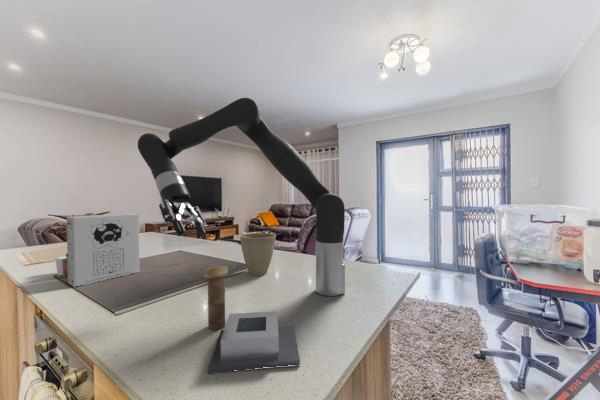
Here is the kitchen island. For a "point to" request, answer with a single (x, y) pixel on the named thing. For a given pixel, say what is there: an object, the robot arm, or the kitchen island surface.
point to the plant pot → (257, 251)
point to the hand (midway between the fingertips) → (193, 235)
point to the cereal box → (102, 247)
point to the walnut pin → (216, 296)
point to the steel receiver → (254, 343)
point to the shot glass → (59, 265)
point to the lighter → (65, 267)
